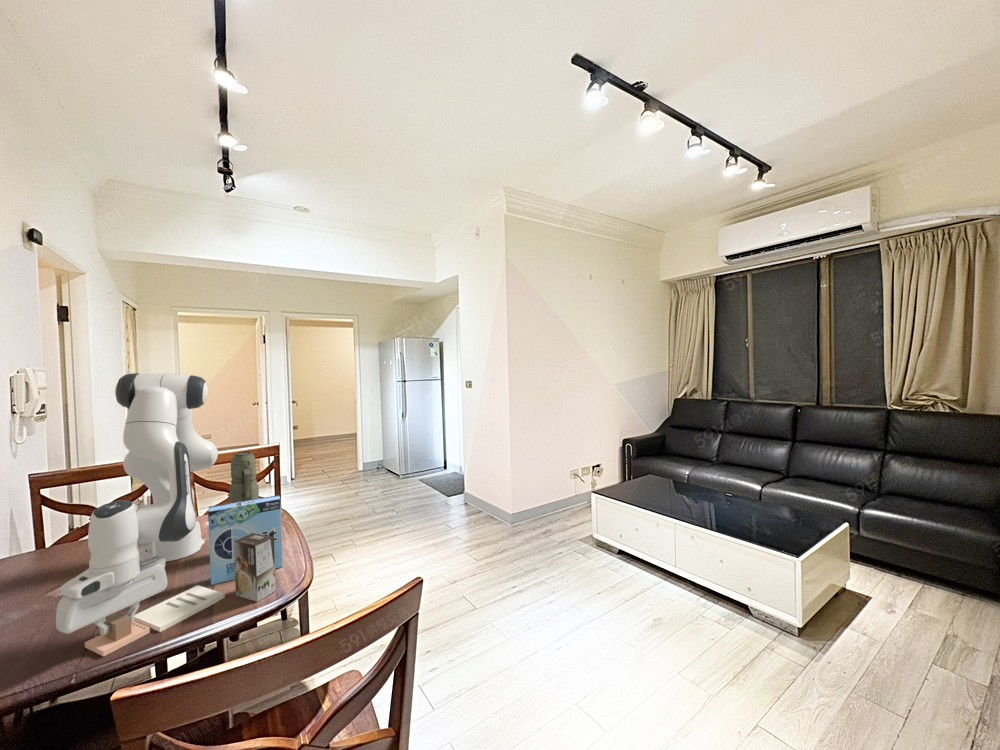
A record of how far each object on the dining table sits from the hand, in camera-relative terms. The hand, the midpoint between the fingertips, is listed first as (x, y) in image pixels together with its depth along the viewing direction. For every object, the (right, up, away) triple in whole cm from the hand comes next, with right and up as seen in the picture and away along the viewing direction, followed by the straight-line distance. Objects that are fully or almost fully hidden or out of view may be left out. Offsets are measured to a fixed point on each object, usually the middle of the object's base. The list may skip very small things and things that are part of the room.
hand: (117, 627), depth 99 cm
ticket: (+5, -3, +13) cm, 14 cm away
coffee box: (+21, -3, +20) cm, 30 cm away
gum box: (+12, -2, +32) cm, 34 cm away
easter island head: (+2, -2, +47) cm, 47 cm away
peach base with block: (0, -3, 0) cm, 3 cm away
